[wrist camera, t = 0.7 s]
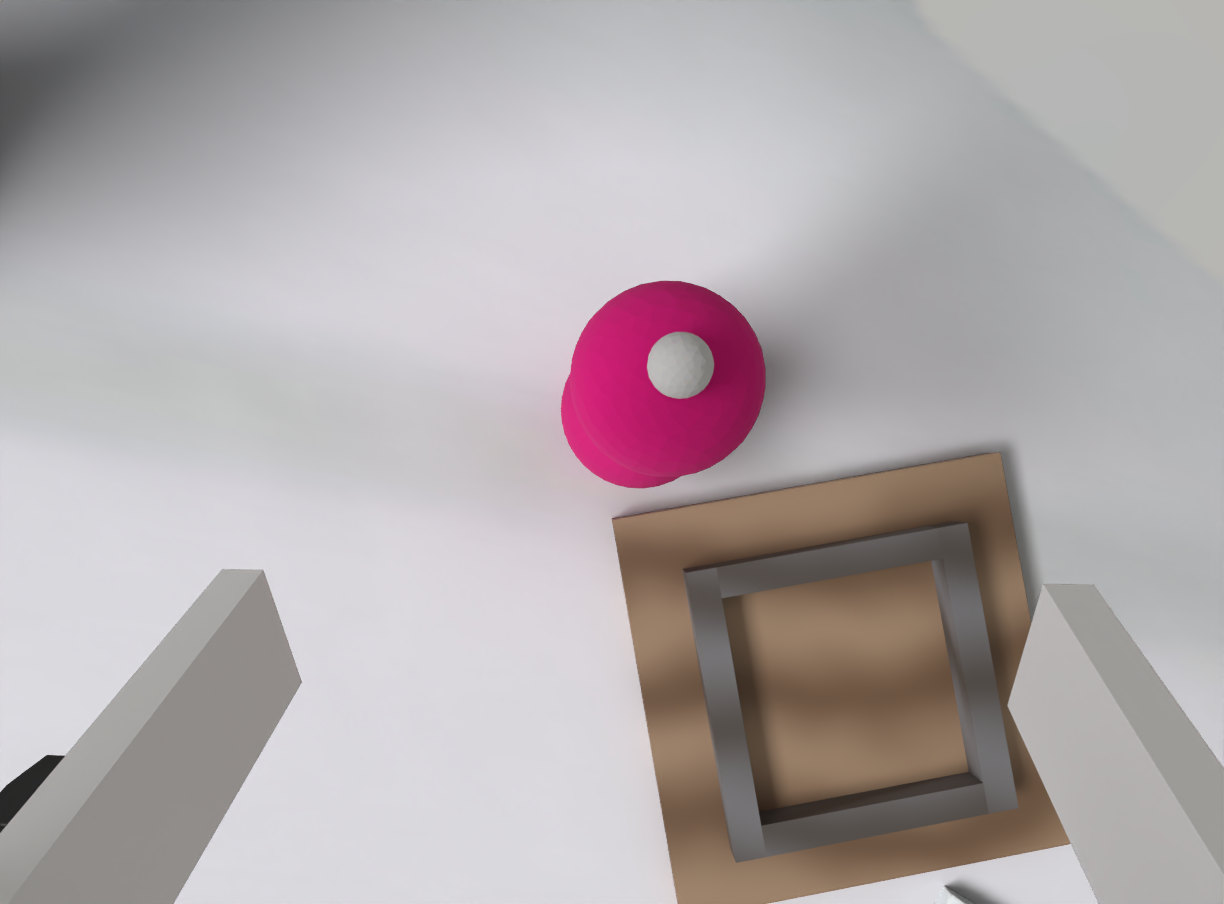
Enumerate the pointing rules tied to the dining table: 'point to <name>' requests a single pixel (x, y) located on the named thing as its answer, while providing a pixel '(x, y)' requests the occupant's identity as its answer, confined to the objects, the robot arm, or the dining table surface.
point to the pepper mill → (662, 384)
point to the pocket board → (835, 681)
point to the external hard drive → (951, 897)
